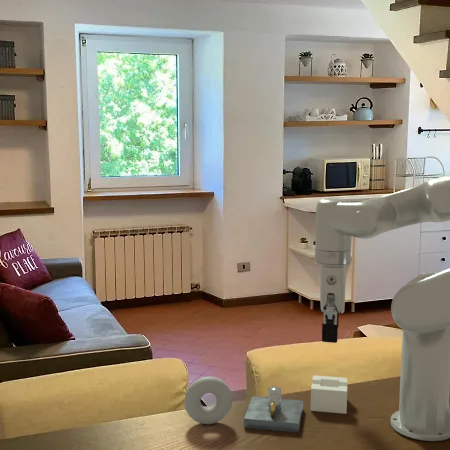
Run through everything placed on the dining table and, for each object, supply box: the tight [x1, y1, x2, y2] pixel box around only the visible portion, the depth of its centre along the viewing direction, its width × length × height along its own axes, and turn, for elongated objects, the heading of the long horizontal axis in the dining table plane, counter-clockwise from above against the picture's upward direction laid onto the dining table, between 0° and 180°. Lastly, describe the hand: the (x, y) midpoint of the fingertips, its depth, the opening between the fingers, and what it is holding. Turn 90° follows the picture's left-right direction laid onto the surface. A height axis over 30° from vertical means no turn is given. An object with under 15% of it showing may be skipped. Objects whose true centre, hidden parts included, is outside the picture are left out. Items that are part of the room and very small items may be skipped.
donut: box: [183, 376, 234, 425], centre depth 129 cm, size 10×4×10 cm, turn 98°
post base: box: [243, 385, 304, 434], centre depth 131 cm, size 11×11×6 cm
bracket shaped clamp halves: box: [310, 374, 348, 415], centre depth 138 cm, size 8×8×5 cm
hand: (330, 334), depth 136 cm, fingers open, 9 cm apart
